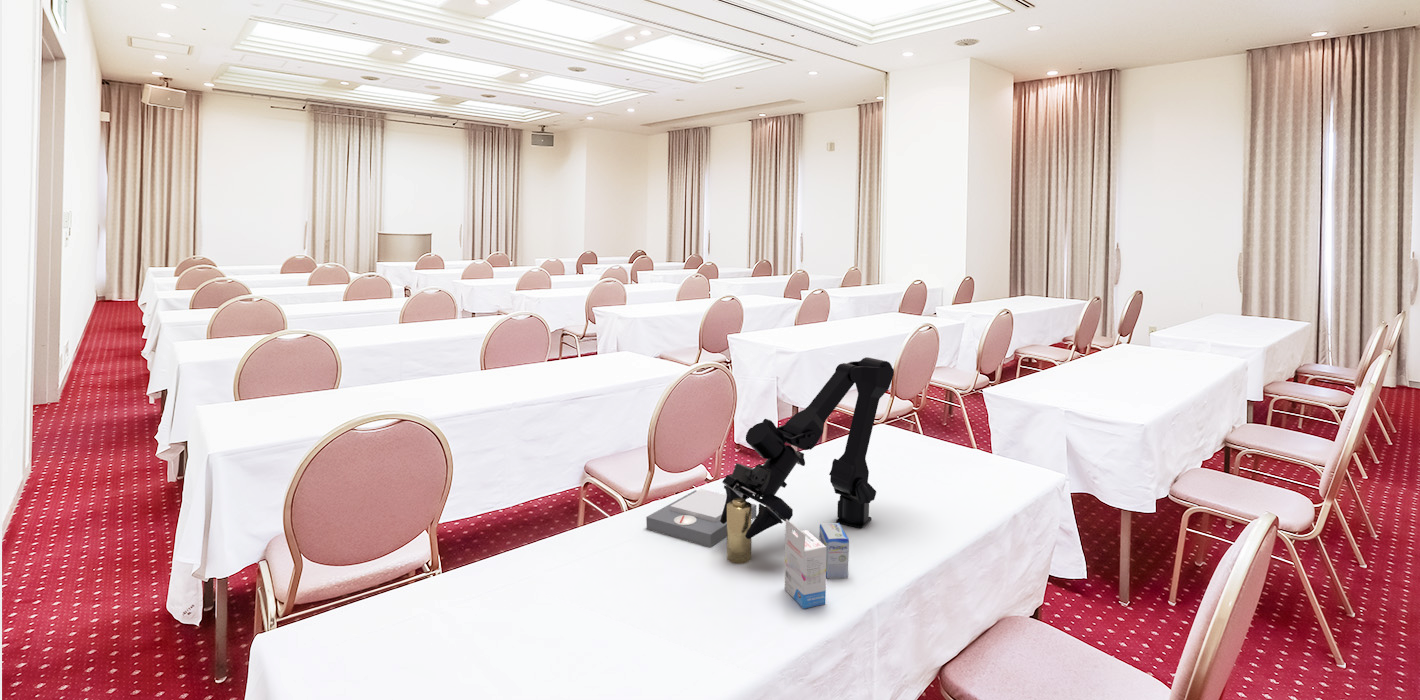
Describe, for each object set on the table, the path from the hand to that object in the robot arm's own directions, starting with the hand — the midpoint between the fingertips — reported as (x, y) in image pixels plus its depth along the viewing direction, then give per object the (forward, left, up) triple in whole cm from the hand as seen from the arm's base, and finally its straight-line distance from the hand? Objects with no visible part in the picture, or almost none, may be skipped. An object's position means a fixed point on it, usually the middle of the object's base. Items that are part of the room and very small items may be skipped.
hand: (733, 530), depth 158 cm
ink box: (-20, +6, -7) cm, 21 cm away
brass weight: (-1, -1, -7) cm, 7 cm away
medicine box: (-20, -7, -7) cm, 22 cm away
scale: (+16, -12, -7) cm, 22 cm away
